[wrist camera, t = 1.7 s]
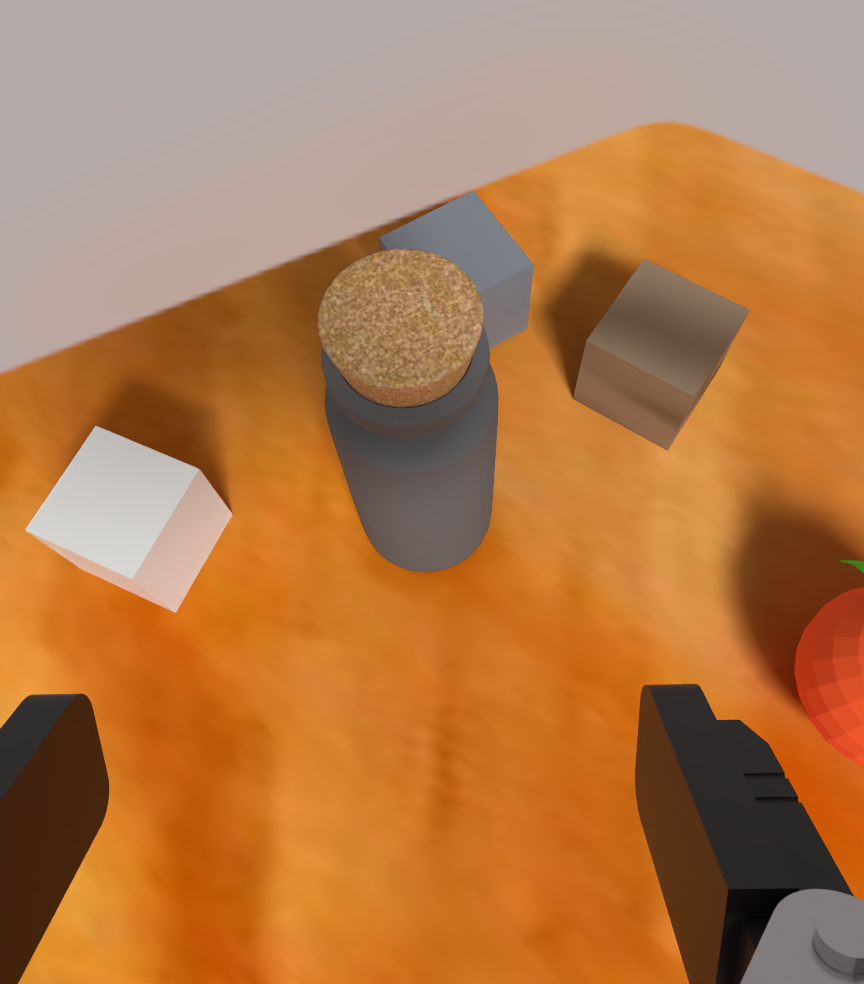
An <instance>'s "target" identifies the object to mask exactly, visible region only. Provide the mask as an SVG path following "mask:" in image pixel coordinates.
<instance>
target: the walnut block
mask: <svg viewBox="0 0 864 984" xmlns="http://www.w3.org/2000/svg"><path fill="white" fill-rule="evenodd" d="M748 312H749V309H747V308H745V307H743V306H741V305H739V304H737V303H735V302H732V301H730V300H728V299H726V298H724V297H722V296H720V295H718V294H716V293H714V292H712V291H710V290H708V289H705V288H703V287H701V286H699V285H697V284H695V283H693V282H691V281H689V280H687V279H685V278H683V277H681V276H678V275H676V274H674V273H672V272H670V271H668V270H666V269H664V268H662V267H660V266H658V265H656V264H654V263H651V262H649V261H647V260H645V259H644V260H643V261H642V262H641V264H640V265H639V267H638V268H637V269H636V271H635V272H634V274H633V275H632V276H631V278H630V279H629V281H628V282H627V284H626V285H625V286H624V288H623V289H622V291H621V292H620V293H619V295H618V296H617V298H616V299H615V301H614V302H613V303H612V305H611V306H610V308H609V309H608V310H607V312H606V313H605V315H604V316H603V317H602V319H601V320H600V322H599V323H598V325H597V326H596V327H595V329H594V330H593V332H592V333H591V334H590V336H589V337H588V339H587V340H586V344H585V348H584V352H583V357H582V361H581V365H580V370H579V374H578V379H577V383H576V387H575V392H574V396H573V399H574V400H576V401H578V402H579V403H581V404H583V405H585V406H587V407H589V408H590V409H592V410H594V411H596V412H598V413H600V414H601V415H603V416H605V417H607V418H609V419H611V420H612V421H614V422H616V423H618V424H620V425H622V426H623V427H625V428H627V429H629V430H631V431H633V432H634V433H636V434H638V435H640V436H642V437H644V438H645V439H647V440H649V441H651V442H653V443H655V444H657V445H658V446H660V447H662V448H664V449H666V450H668V449H669V448H670V446H671V444H672V443H673V441H674V440H675V438H676V437H677V435H678V433H679V432H680V430H681V429H682V427H683V425H684V424H685V422H686V421H687V419H688V417H689V416H690V414H691V413H692V411H693V410H694V408H695V406H696V405H697V403H698V402H699V400H700V398H701V397H702V395H703V394H704V392H705V390H706V389H707V387H708V386H709V384H710V382H711V381H712V379H713V378H714V376H715V375H716V373H717V371H718V369H719V368H720V366H721V364H722V362H723V360H724V358H725V356H726V354H727V352H728V350H729V348H730V347H731V345H732V343H733V341H734V339H735V337H736V335H737V333H738V331H739V329H740V327H741V326H742V324H743V322H744V320H745V318H746V316H747V314H748Z"/></svg>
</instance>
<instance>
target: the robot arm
mask: <svg viewBox="0 0 864 984" xmlns="http://www.w3.org/2000/svg"><path fill="white" fill-rule="evenodd" d="M635 787H636V798H637V805H638V811H639V815H640V819H641V823H642V826H643V829H644V833H645V836H646V840H647V843H648V846H649V850H650V853H651V856H652V860H653V863H654V866H655V870H656V873H657V876H658V880H659V883H660V886H661V890H662V893H663V896H664V900H665V903H666V906H667V910H668V913H669V917H670V920H671V923H672V927H673V930H674V933H675V937H676V940H677V943H678V947H679V950H680V953H681V957H682V960H683V963H684V967H685V970H686V973H687V977H688V980H689V983H690V984H864V901H863V900H861V899H859V898H856V897H854V895H853V894H852V892H851V890H850V889H849V887H848V885H847V883H846V881H845V880H844V878H843V876H842V874H841V872H840V871H839V869H838V867H837V865H836V864H835V862H834V860H833V858H832V856H831V855H830V853H829V851H828V849H827V848H826V846H825V844H824V842H823V840H822V839H821V837H820V835H819V833H818V831H817V830H816V828H815V826H814V824H813V823H812V821H811V819H810V817H809V815H808V814H807V812H806V810H805V808H804V807H803V805H802V803H799V802H798V796H797V794H796V792H795V790H794V789H793V787H792V785H791V783H790V782H789V780H788V779H785V773H784V771H783V769H782V767H781V765H780V764H779V762H778V760H777V758H776V757H775V755H774V753H773V751H772V749H771V748H770V746H769V744H768V743H767V742H765V741H764V740H763V739H762V738H761V737H759V736H758V735H757V734H756V733H755V732H754V731H752V730H751V729H750V728H749V727H748V726H746V725H745V724H744V723H743V722H742V721H740V720H716V718H715V716H714V714H713V712H712V710H711V708H710V705H709V703H708V701H707V699H706V697H705V695H704V693H703V691H702V689H701V688H700V686H699V685H697V684H673V685H644V686H643V688H642V692H641V699H640V712H639V726H638V739H637V753H636V767H635ZM108 799H109V779H108V774H107V770H106V765H105V761H104V756H103V752H102V747H101V743H100V738H99V734H98V729H97V725H96V721H95V716H94V712H93V708H92V704H91V702H90V700H89V698H88V697H87V696H86V695H84V694H47V695H30V696H28V697H26V698H25V699H24V700H23V701H22V702H21V704H20V705H19V706H18V707H17V709H16V710H15V711H14V712H13V714H12V715H11V716H10V717H9V719H8V720H7V721H6V722H5V724H4V725H3V726H2V727H1V729H0V984H18V982H19V980H20V978H21V977H22V975H23V973H24V971H25V969H26V967H27V965H28V963H29V961H30V960H31V958H32V956H33V954H34V952H35V950H36V948H37V946H38V944H39V942H40V941H41V939H42V937H43V935H44V933H45V931H46V929H47V927H48V925H49V923H50V922H51V920H52V918H53V916H54V914H55V912H56V910H57V908H58V906H59V904H60V903H61V901H62V899H63V897H64V895H65V893H66V891H67V889H68V887H69V886H70V884H71V882H72V880H73V878H74V876H75V874H76V872H77V870H78V868H79V867H80V865H81V863H82V861H83V859H84V857H85V855H86V853H87V851H88V849H89V848H90V846H91V844H92V842H93V840H94V838H95V836H96V834H97V832H98V830H99V829H100V827H101V825H102V822H103V820H104V817H105V814H106V810H107V805H108Z"/></svg>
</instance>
